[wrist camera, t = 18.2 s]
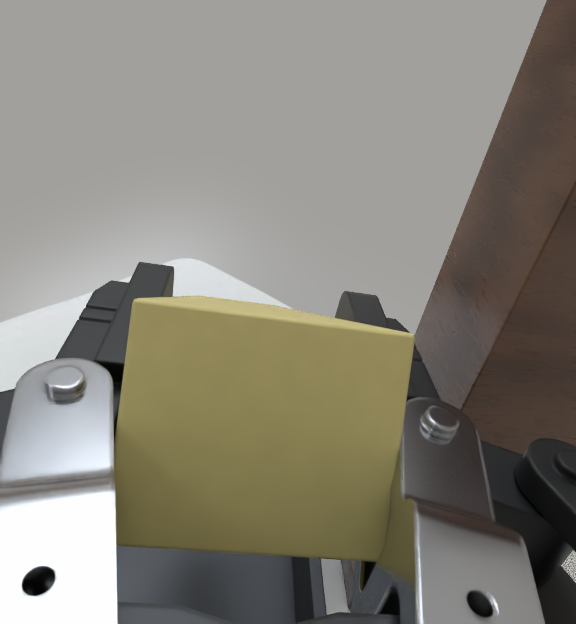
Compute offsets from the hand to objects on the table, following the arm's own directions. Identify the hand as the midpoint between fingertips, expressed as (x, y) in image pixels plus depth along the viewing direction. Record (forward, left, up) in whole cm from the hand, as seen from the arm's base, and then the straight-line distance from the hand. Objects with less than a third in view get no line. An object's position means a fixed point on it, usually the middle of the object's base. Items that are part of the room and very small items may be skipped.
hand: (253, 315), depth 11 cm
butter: (-1, +2, -5) cm, 6 cm away
